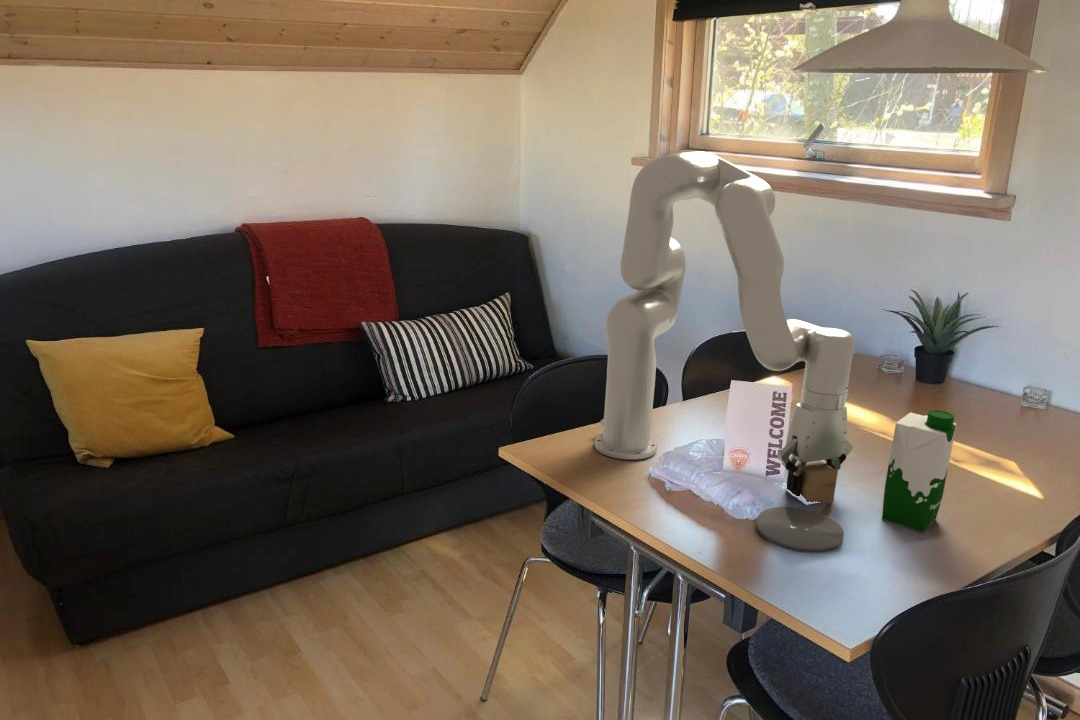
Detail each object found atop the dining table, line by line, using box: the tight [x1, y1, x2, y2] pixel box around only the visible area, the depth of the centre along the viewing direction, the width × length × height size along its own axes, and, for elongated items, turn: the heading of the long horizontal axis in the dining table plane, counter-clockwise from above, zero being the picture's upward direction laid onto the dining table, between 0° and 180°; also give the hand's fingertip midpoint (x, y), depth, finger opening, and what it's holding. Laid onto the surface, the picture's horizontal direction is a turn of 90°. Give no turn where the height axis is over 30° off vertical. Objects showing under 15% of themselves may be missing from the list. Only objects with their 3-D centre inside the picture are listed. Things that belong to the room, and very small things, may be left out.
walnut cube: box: [786, 460, 839, 504], centre depth 162 cm, size 6×6×6 cm
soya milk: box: [881, 410, 958, 533], centre depth 153 cm, size 9×9×20 cm
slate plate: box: [755, 506, 845, 554], centre depth 149 cm, size 14×14×1 cm
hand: (810, 489), depth 163 cm, fingers open, 6 cm apart
